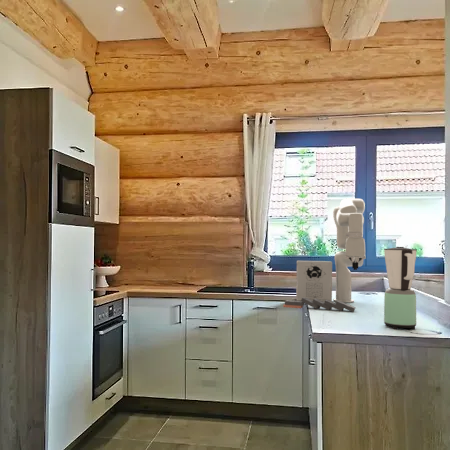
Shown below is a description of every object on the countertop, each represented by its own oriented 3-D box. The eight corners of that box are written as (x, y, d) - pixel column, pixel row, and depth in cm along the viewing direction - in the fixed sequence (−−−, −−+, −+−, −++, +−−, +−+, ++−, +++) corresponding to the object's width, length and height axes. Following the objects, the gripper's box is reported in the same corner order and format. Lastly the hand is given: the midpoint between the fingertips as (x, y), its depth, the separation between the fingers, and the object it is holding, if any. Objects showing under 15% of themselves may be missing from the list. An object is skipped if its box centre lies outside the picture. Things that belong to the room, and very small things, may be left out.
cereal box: (330, 300, 292) (330, 261, 293) (331, 301, 284) (332, 261, 285) (296, 299, 294) (296, 260, 295) (296, 300, 286) (297, 261, 287)
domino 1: (304, 304, 257) (287, 303, 261) (304, 301, 257) (287, 300, 261) (302, 305, 252) (284, 304, 256) (302, 302, 253) (284, 301, 256)
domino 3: (319, 308, 253) (304, 300, 259) (321, 305, 253) (305, 297, 258) (316, 309, 249) (300, 301, 254) (317, 305, 249) (302, 297, 254)
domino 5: (343, 310, 249) (325, 302, 252) (344, 306, 248) (326, 299, 252) (341, 311, 244) (323, 303, 248) (342, 307, 244) (325, 300, 248)
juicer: (376, 324, 205) (377, 246, 207) (405, 324, 207) (405, 247, 208) (396, 332, 187) (397, 246, 188) (427, 332, 188) (427, 247, 189)
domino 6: (354, 310, 246) (336, 303, 250) (355, 307, 246) (337, 300, 250) (353, 312, 242) (335, 304, 245) (354, 308, 241) (336, 301, 245)
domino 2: (302, 308, 257) (285, 307, 260) (302, 304, 257) (285, 303, 261) (300, 309, 252) (283, 308, 256) (300, 306, 252) (283, 304, 256)
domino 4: (331, 309, 251) (314, 301, 255) (332, 305, 251) (316, 298, 255) (328, 310, 246) (312, 302, 251) (330, 306, 246) (313, 299, 251)
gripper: (340, 235, 245) (340, 269, 244) (369, 235, 240) (369, 270, 239) (342, 235, 252) (341, 268, 251) (370, 236, 247) (370, 270, 246)
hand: (355, 269), depth 245 cm, fingers closed
